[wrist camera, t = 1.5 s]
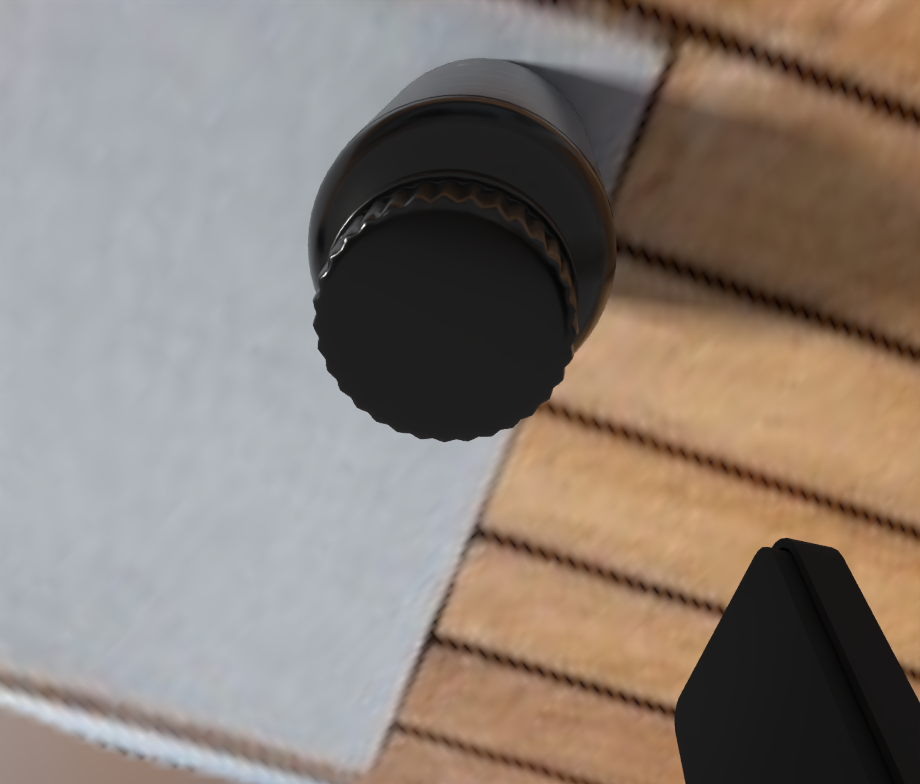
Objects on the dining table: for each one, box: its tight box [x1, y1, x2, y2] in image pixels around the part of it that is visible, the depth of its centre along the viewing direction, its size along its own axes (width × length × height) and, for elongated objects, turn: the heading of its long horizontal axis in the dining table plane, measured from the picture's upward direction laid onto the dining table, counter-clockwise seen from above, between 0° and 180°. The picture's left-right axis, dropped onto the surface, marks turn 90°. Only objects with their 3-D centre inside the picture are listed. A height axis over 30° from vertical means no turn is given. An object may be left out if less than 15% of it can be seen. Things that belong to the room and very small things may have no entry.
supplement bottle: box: [308, 58, 616, 442], centre depth 19 cm, size 7×7×12 cm
